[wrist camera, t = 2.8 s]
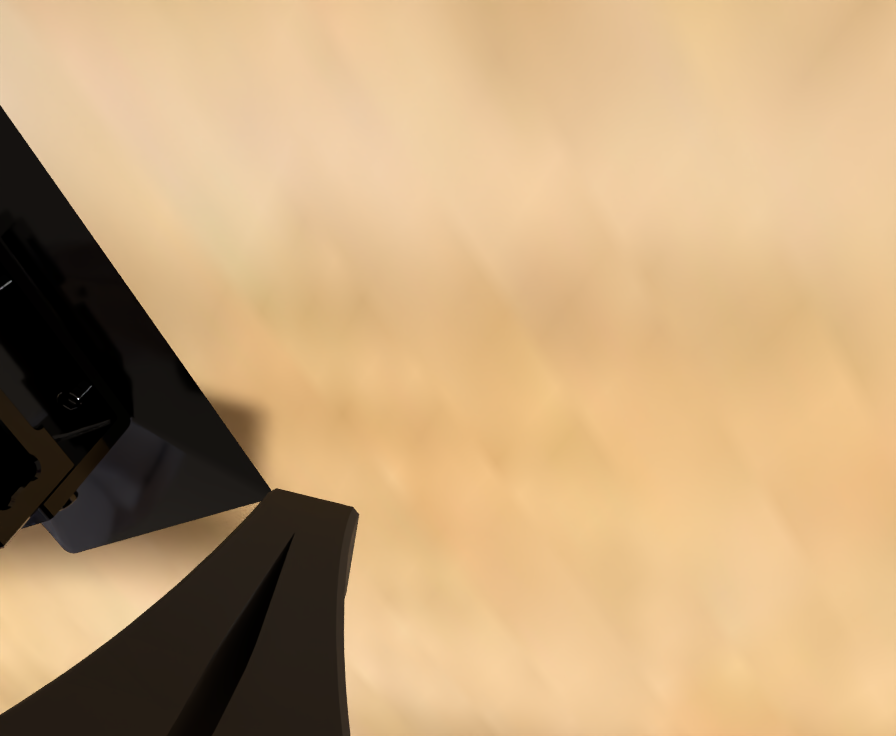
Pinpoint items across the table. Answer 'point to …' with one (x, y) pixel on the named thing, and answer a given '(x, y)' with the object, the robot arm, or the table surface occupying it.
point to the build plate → (93, 386)
